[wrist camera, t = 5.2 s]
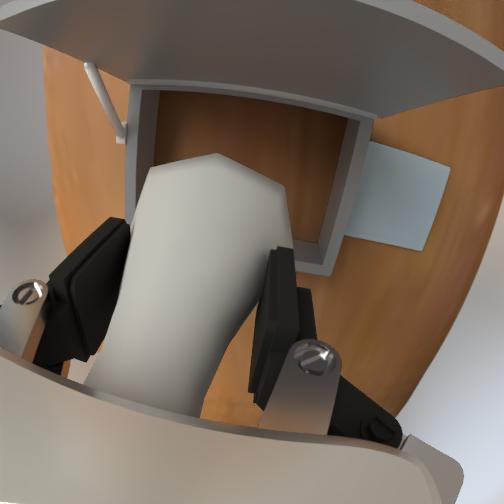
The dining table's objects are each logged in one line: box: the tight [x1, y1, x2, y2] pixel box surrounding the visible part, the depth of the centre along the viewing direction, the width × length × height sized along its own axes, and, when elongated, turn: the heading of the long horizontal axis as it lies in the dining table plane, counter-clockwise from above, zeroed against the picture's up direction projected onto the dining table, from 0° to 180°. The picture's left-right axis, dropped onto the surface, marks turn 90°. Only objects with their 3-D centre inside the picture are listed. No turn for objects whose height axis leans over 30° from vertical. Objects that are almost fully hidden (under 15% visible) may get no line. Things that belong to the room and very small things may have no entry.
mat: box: [344, 141, 451, 251], centre depth 26 cm, size 9×9×1 cm
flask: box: [83, 153, 294, 418], centre depth 9 cm, size 7×7×10 cm
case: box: [125, 79, 379, 277], centre depth 23 cm, size 15×18×5 cm
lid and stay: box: [0, 0, 504, 144], centre depth 14 cm, size 9×19×15 cm, turn 81°
